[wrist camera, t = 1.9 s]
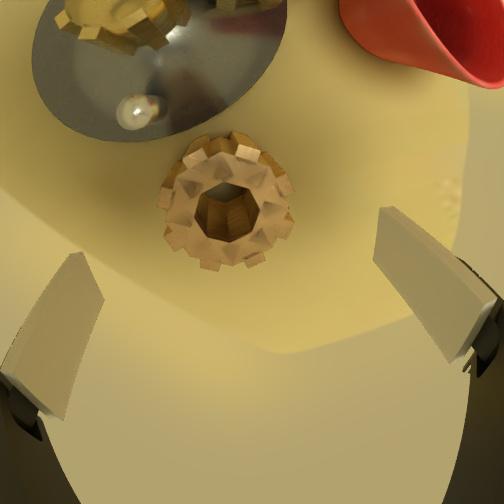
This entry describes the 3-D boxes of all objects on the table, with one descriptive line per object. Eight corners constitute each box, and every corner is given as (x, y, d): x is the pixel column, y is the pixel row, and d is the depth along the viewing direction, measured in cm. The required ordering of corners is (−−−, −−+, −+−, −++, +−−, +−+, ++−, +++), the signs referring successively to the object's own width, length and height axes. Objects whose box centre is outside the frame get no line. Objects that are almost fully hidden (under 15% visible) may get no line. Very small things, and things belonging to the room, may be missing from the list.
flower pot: (372, 101, 17) (468, 120, 8) (287, -13, 11) (342, -76, 3) (446, 57, 14) (530, 67, 6) (381, -41, 9) (452, -73, 1)
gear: (155, 163, 18) (131, 190, 12) (247, 113, 17) (260, 118, 12) (205, 240, 21) (203, 289, 16) (288, 199, 20) (313, 237, 15)
